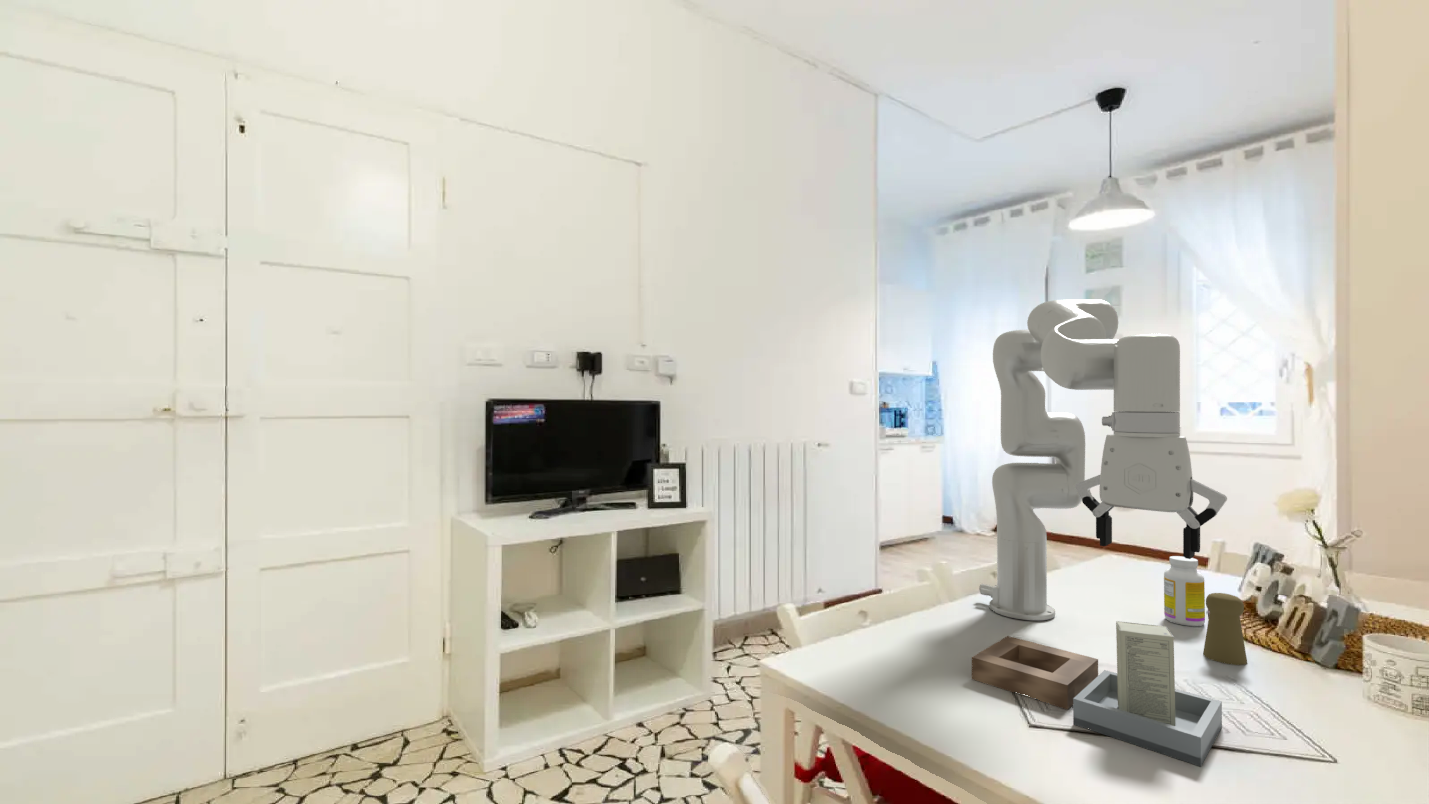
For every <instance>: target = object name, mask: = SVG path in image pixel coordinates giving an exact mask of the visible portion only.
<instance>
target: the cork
mask: <svg viewBox="0 0 1429 804" xmlns="http://www.w3.org/2000/svg"><path fill="white" fill-rule="evenodd" d="M1205 607H1206V609H1207V610H1208V611H1209V615H1208V622H1207V629H1206V633H1205V634H1206V635H1205V640H1204V645H1203V652H1202V655H1203V656H1204V657H1205V658H1206V659H1208V660H1212V661H1214V662H1218V663H1221V664H1226V665H1232V666H1245V665H1247V664H1248V658H1247V653H1246V646H1245V640H1244V633H1243V628H1242V623H1241V616H1242V615H1243V613H1244V610H1245V606H1244V602H1243V600H1242V599H1241V598H1240V597H1238V596H1236V595H1234V594H1231V593H1230V594H1229V593H1225V592H1213V593H1211V592H1210V593H1209V594H1207V596H1206V597H1205Z"/></svg>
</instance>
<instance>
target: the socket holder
mask: <svg viewBox="0 0 1429 804" xmlns="http://www.w3.org/2000/svg"><path fill="white" fill-rule="evenodd" d="M1098 676H1099V658H1097V657H1096V658H1095V657H1093V656H1092V657H1091V656H1087V655H1084V654H1080V653H1077V652H1072V651H1067V650H1064V649H1060V648H1056V647H1053V646H1048V645H1045V644H1040V643H1036V642H1034V641H1033V642H1032V641H1028V640H1026V639H1022V638H1018V637H1015V636H1010V635H1007V636H1005V637H1003V638H1002V639H1000V640H998V641H996V642H995V643H993V644H992V645H990V646H988V647H986V648H984V649H982V650H981V651H980V652H977V653H976V654H975V655H973V656H971V680H973V681H977V682H979V683H981V684H982V683H983V684H985V685H989V686H992V687H995V688H998V689H1002V690H1004V691H1008V692H1011V693H1014V692H1017V693H1020V694H1025V695H1028V696H1030V697H1032V698H1036V699H1038V700H1037V701H1039V700H1040V701H1039V702H1042V703H1045V702H1046V703H1045V704H1048V703H1049V704H1048V705H1052V706H1054V707H1058V708H1061V709H1064V710H1067V711H1068V710H1069V709H1070V708H1071V707H1073V698H1074V697H1076V696H1077V695H1078V694H1079V693H1080V692H1081V691H1082V690H1083V689H1084V688H1085V687H1087V686H1088V685H1089V684H1090V683H1091V682H1092V681H1093V680H1094V679H1095V678H1096V677H1098ZM1017 693H1016V694H1017ZM1020 694H1019V695H1020ZM1032 698H1031V699H1032Z"/></svg>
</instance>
